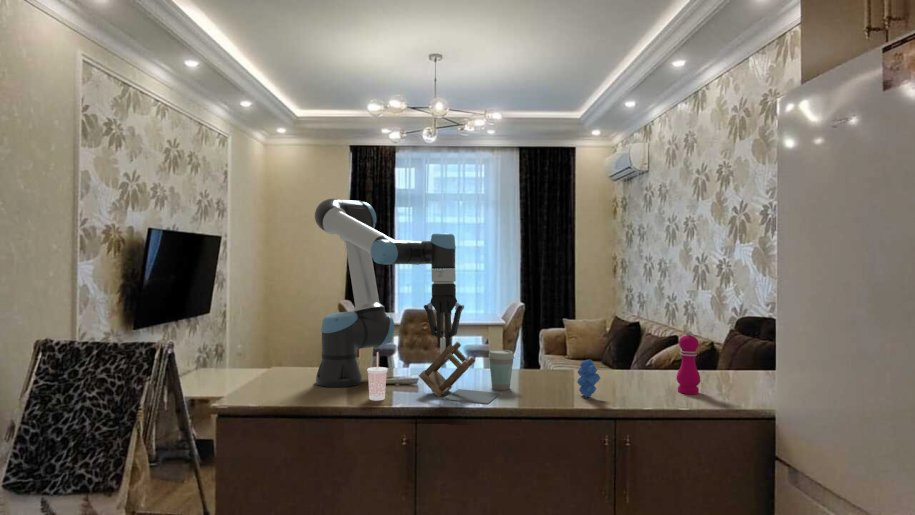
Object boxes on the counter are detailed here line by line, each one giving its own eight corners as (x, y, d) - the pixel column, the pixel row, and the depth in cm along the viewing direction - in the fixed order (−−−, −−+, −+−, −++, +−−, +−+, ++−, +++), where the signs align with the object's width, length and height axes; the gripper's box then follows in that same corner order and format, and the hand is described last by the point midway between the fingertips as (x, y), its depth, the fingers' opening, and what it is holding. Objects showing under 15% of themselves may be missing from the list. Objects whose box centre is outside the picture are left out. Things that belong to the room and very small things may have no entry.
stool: (418, 375, 182) (447, 344, 179) (429, 370, 191) (457, 340, 188) (438, 397, 180) (468, 365, 177) (448, 391, 189) (477, 361, 185)
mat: (443, 399, 177) (443, 398, 177) (458, 390, 190) (458, 389, 190) (488, 404, 172) (488, 403, 172) (500, 393, 185) (500, 392, 185)
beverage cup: (389, 396, 180) (390, 350, 180) (383, 401, 174) (384, 354, 174) (370, 395, 181) (371, 350, 181) (364, 400, 175) (364, 353, 175)
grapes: (608, 401, 177) (608, 361, 177) (586, 402, 176) (587, 362, 176) (592, 392, 189) (593, 355, 188) (572, 393, 187) (573, 355, 187)
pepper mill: (699, 390, 193) (700, 329, 193) (700, 395, 186) (701, 332, 186) (675, 389, 195) (676, 328, 195) (676, 393, 188) (677, 331, 188)
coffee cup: (512, 391, 189) (512, 354, 189) (486, 390, 190) (486, 353, 190) (515, 386, 197) (515, 350, 197) (489, 384, 199) (490, 349, 199)
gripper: (419, 283, 183) (420, 359, 183) (459, 283, 179) (460, 361, 178) (428, 282, 190) (429, 355, 190) (467, 282, 186) (468, 357, 185)
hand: (444, 358), depth 184 cm, fingers closed
